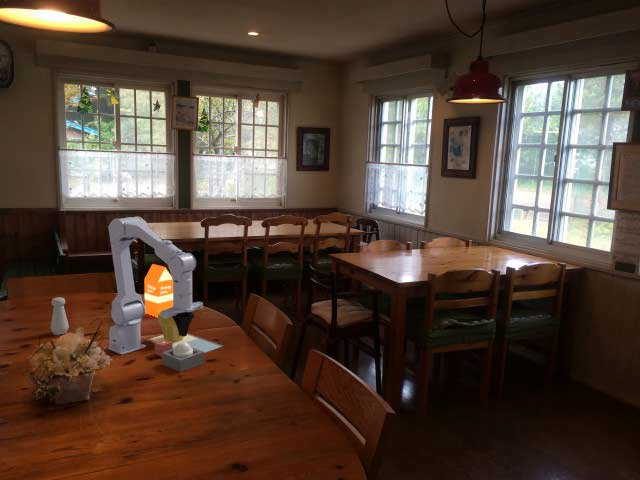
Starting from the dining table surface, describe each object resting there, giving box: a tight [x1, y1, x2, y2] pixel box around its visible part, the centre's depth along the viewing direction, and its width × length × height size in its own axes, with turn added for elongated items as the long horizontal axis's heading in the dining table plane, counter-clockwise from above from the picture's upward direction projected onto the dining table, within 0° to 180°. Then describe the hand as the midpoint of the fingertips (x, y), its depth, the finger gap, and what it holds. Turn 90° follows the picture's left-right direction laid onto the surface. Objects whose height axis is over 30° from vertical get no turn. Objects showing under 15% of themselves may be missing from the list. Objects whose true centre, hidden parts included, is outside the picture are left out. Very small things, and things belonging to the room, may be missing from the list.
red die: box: [154, 340, 173, 358], centre depth 174 cm, size 4×4×4 cm
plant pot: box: [157, 309, 184, 342], centre depth 188 cm, size 10×10×10 cm
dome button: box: [173, 342, 193, 358], centre depth 167 cm, size 6×6×5 cm
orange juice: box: [143, 263, 173, 319], centre depth 215 cm, size 8×9×20 cm
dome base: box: [161, 347, 205, 373], centre depth 167 cm, size 9×9×4 cm
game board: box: [146, 332, 224, 354], centre depth 185 cm, size 14×24×1 cm, turn 53°
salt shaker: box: [50, 296, 70, 336], centre depth 189 cm, size 6×6×13 cm
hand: (183, 335), depth 166 cm, fingers closed
